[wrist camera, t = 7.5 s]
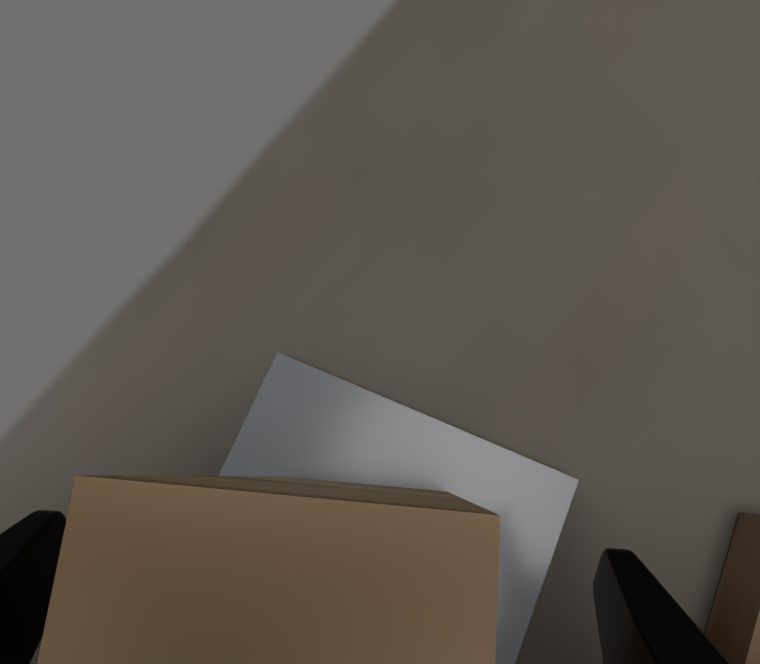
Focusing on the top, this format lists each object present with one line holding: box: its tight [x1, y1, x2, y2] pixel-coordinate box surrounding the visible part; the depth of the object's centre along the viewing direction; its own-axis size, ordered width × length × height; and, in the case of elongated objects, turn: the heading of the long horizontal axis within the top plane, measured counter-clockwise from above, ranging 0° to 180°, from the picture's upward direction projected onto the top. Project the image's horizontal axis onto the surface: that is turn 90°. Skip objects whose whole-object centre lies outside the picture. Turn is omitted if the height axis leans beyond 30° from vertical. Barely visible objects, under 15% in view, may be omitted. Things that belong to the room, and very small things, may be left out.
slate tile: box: [218, 352, 579, 664], centre depth 16 cm, size 9×9×1 cm
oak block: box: [37, 476, 501, 664], centre depth 10 cm, size 4×4×10 cm
